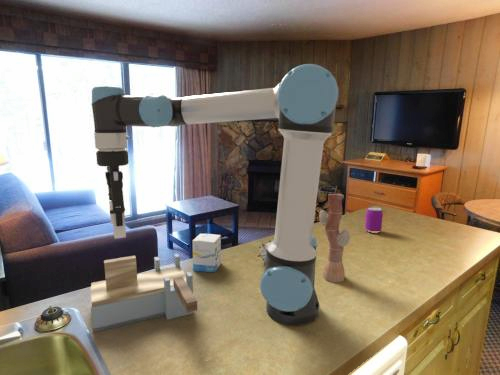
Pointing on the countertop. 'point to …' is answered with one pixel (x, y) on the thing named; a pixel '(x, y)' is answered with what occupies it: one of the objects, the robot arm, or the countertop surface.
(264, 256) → the game die
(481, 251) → the countertop surface
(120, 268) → the lid
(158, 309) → the grey box with brackets
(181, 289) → the cross bar
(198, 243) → the ink box
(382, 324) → the countertop surface
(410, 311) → the countertop surface
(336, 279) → the vase
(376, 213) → the beverage can
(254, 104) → the robot arm
